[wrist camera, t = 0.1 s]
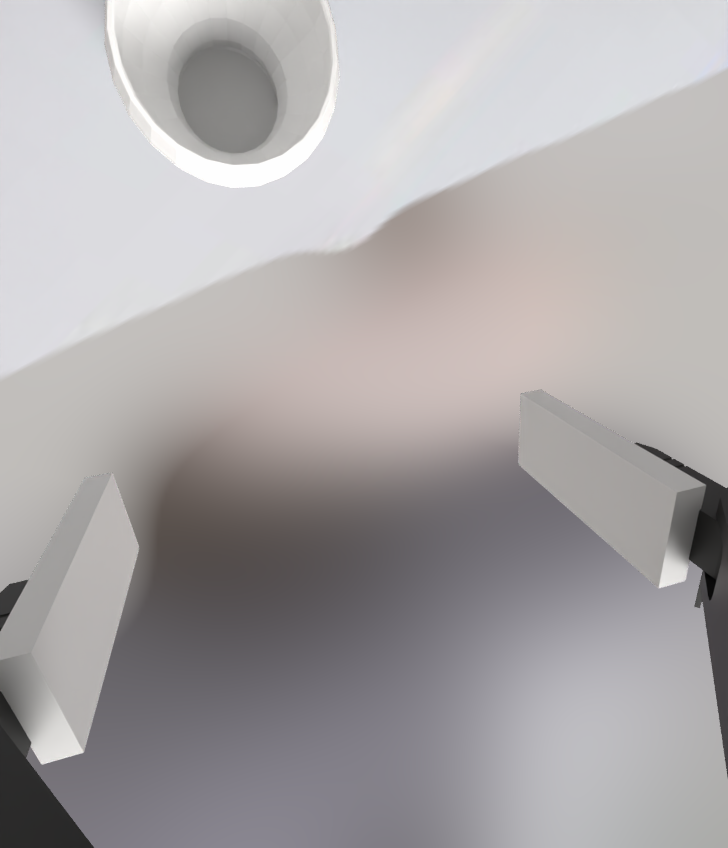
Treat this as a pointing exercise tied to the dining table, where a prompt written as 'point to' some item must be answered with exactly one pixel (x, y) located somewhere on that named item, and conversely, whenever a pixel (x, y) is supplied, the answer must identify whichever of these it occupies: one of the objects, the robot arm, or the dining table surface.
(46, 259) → the dining table surface
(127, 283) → the dining table surface
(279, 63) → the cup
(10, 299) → the dining table surface
